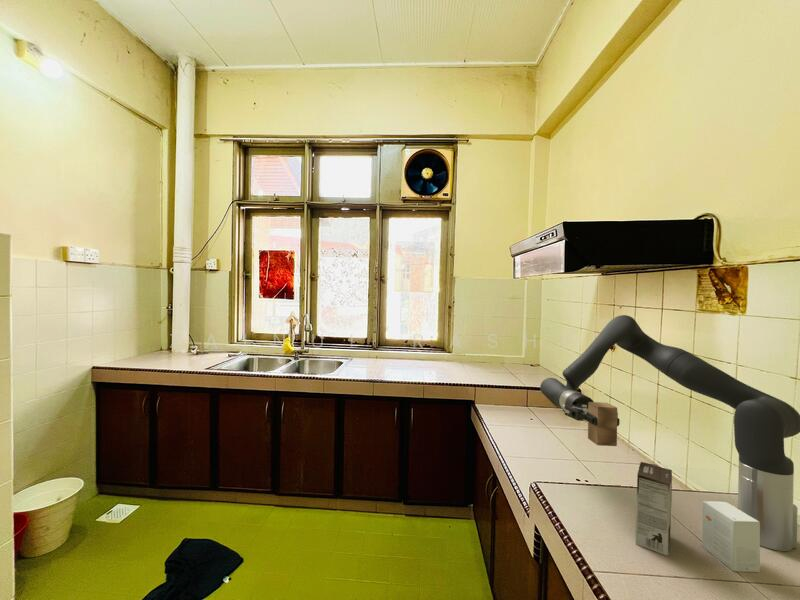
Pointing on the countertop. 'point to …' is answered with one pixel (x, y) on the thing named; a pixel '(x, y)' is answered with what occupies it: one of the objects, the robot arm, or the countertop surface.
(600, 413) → the walnut block
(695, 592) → the countertop surface
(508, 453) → the countertop surface
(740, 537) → the small box
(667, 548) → the coffee box
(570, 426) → the countertop surface
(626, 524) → the countertop surface
